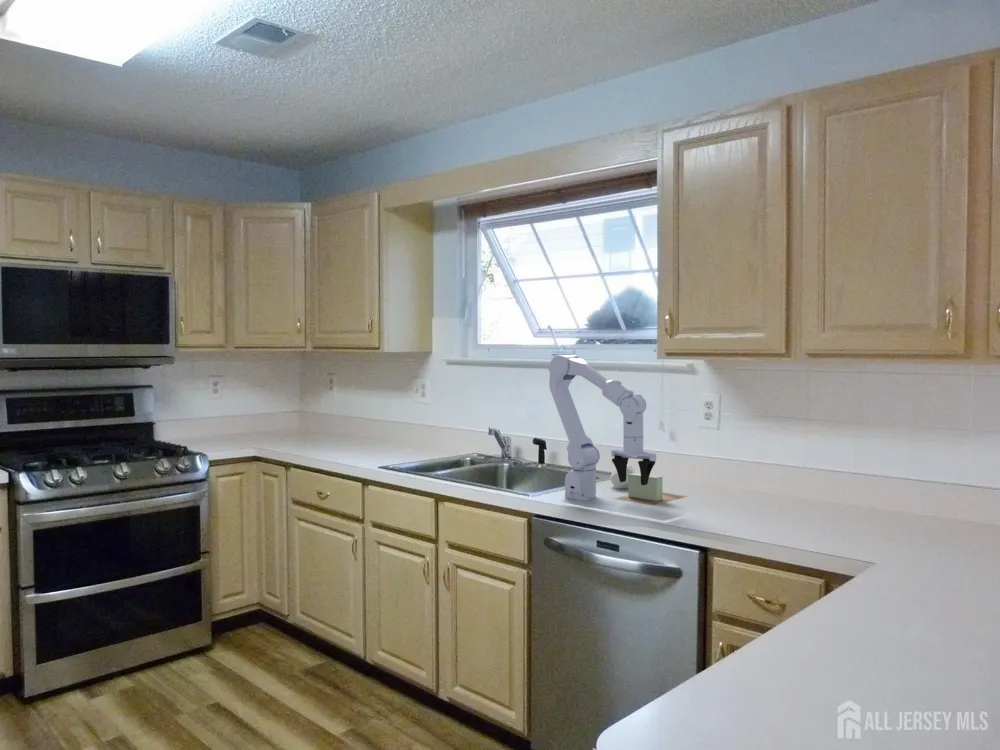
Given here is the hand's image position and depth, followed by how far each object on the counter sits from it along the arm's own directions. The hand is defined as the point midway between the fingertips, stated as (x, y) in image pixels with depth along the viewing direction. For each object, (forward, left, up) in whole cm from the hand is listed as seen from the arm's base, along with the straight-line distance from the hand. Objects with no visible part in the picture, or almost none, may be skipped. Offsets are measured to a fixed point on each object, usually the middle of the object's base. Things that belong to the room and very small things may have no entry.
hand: (633, 483), depth 224 cm
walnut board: (+9, 0, -6) cm, 11 cm away
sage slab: (+6, 0, -5) cm, 8 cm away
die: (+17, +16, -6) cm, 24 cm away
